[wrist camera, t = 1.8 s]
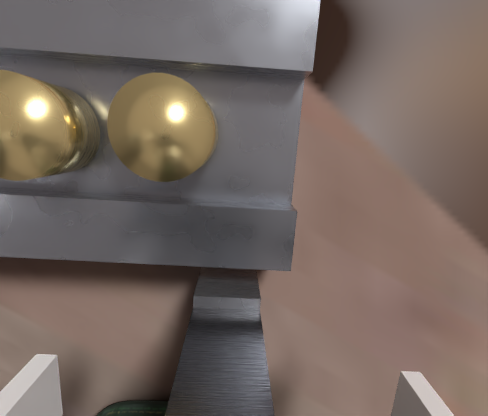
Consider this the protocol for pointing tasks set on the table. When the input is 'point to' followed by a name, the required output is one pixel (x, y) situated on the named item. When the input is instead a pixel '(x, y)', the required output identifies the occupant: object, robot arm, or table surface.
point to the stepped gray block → (223, 350)
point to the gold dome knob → (43, 129)
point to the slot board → (215, 94)
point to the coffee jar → (136, 408)
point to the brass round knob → (161, 127)
